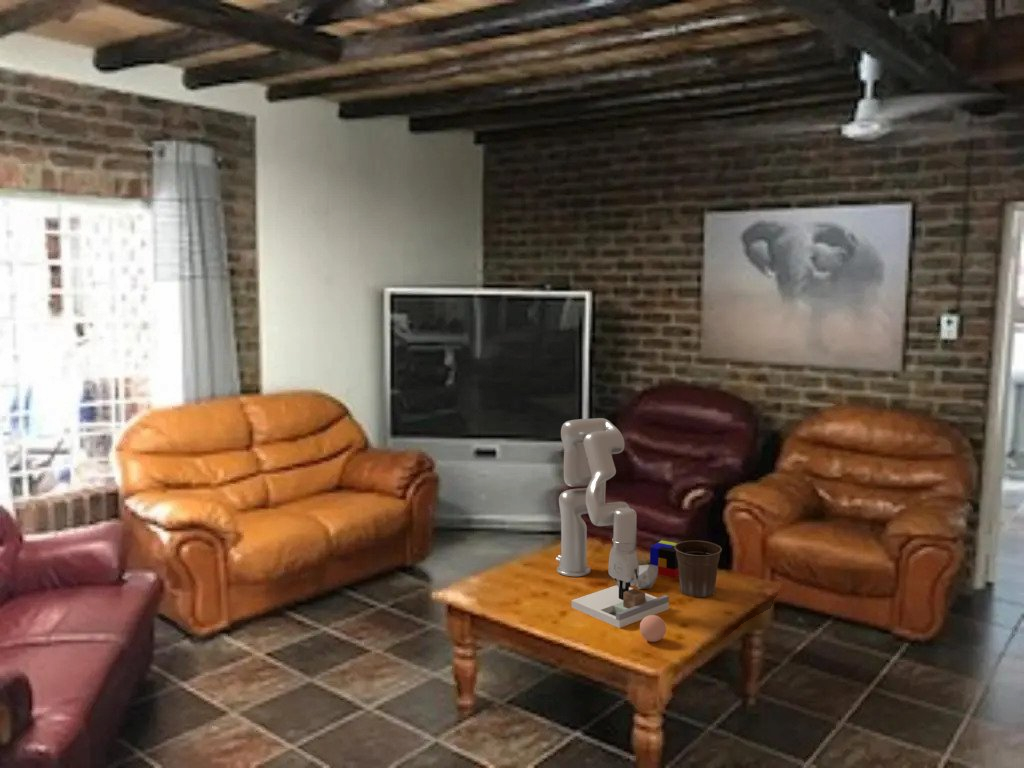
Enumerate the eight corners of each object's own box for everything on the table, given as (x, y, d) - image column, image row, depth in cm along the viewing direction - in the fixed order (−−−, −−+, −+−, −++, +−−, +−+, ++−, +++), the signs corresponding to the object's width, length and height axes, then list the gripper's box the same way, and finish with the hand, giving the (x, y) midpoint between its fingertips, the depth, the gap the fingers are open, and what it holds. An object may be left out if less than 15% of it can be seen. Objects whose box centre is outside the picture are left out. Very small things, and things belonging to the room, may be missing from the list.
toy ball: (661, 634, 266) (661, 610, 265) (669, 645, 258) (669, 620, 257) (636, 636, 265) (636, 612, 264) (643, 647, 257) (644, 622, 256)
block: (623, 606, 282) (623, 592, 281) (633, 602, 285) (634, 588, 284) (634, 611, 278) (634, 596, 277) (644, 607, 281) (645, 592, 280)
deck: (571, 607, 288) (571, 594, 287) (620, 590, 303) (620, 578, 302) (619, 628, 271) (619, 614, 270) (668, 609, 286) (668, 596, 285)
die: (626, 588, 307) (633, 573, 300) (633, 570, 313) (640, 555, 306) (647, 598, 305) (654, 583, 299) (654, 580, 311) (661, 565, 305)
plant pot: (691, 603, 291) (692, 557, 289) (664, 587, 306) (665, 543, 304) (730, 595, 298) (731, 551, 296) (701, 580, 312) (702, 538, 310)
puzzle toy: (649, 572, 321) (650, 547, 320) (661, 565, 329) (661, 540, 328) (674, 578, 315) (675, 552, 314) (685, 570, 323) (686, 544, 322)
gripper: (600, 542, 286) (599, 594, 288) (633, 553, 274) (632, 608, 277) (616, 537, 291) (615, 589, 293) (649, 548, 279) (648, 602, 282)
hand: (623, 598), depth 285 cm, fingers closed
